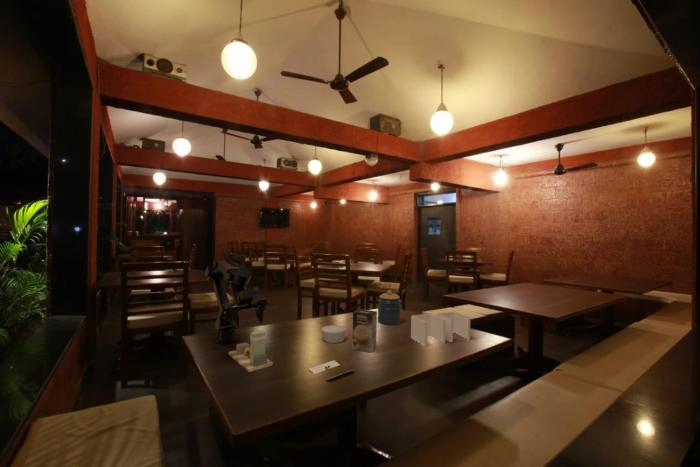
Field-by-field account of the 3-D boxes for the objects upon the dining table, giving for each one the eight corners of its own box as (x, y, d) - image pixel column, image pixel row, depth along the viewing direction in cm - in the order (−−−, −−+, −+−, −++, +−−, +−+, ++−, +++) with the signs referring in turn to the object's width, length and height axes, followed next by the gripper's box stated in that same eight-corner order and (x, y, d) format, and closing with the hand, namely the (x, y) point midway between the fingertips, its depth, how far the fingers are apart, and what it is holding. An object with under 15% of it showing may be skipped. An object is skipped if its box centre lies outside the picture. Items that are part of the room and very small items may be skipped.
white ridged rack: (235, 352, 127) (235, 344, 127) (247, 349, 130) (247, 341, 130) (254, 367, 113) (254, 358, 113) (267, 363, 116) (267, 354, 116)
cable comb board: (228, 354, 127) (228, 351, 127) (250, 349, 133) (250, 346, 133) (249, 371, 111) (249, 369, 111) (272, 365, 117) (272, 362, 117)
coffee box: (351, 349, 134) (351, 311, 134) (357, 344, 140) (357, 308, 139) (371, 353, 130) (372, 314, 130) (377, 348, 136) (377, 310, 136)
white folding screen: (454, 333, 158) (454, 311, 158) (469, 340, 147) (470, 317, 147) (410, 339, 148) (411, 315, 148) (424, 347, 138) (424, 321, 138)
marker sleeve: (250, 362, 116) (250, 332, 116) (261, 359, 119) (261, 330, 119) (253, 365, 114) (253, 334, 114) (265, 362, 117) (265, 332, 117)
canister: (376, 324, 171) (377, 291, 171) (378, 318, 183) (378, 287, 183) (401, 326, 168) (401, 292, 168) (401, 319, 181) (401, 288, 181)
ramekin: (317, 342, 143) (317, 330, 143) (328, 334, 153) (328, 323, 153) (340, 345, 139) (340, 333, 138) (349, 337, 149) (349, 326, 149)
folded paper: (334, 363, 121) (334, 357, 121) (355, 374, 112) (355, 368, 112) (307, 371, 113) (307, 366, 113) (328, 384, 104) (328, 378, 104)
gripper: (221, 283, 120) (231, 318, 111) (267, 278, 132) (279, 310, 123) (214, 300, 126) (223, 335, 117) (259, 294, 138) (270, 326, 129)
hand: (250, 326), depth 122 cm, fingers open, 9 cm apart
